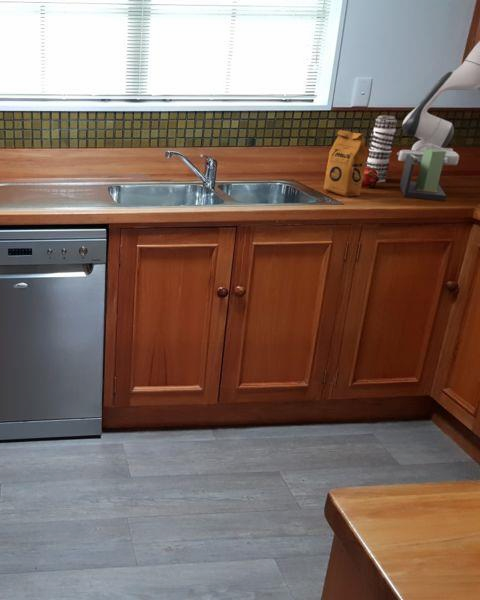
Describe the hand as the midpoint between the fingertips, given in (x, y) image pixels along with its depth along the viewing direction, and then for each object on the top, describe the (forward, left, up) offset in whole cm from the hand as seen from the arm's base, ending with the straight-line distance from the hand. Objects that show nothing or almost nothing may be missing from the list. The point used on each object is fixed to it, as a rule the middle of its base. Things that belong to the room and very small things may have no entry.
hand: (429, 160), depth 226 cm
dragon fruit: (+21, +3, -11) cm, 24 cm away
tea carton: (0, +9, -9) cm, 13 cm away
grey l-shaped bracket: (+1, +6, -11) cm, 13 cm away
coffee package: (+29, +21, -11) cm, 37 cm away
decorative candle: (+17, -12, -11) cm, 23 cm away
